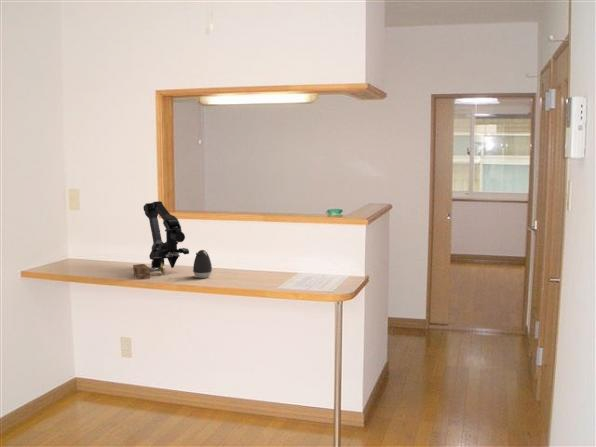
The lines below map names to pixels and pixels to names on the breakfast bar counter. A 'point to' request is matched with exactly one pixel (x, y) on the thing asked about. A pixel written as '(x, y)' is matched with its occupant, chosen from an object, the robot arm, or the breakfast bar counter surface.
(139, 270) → the block
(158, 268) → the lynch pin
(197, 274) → the black egg-shaped device
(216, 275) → the breakfast bar counter surface
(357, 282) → the breakfast bar counter surface
